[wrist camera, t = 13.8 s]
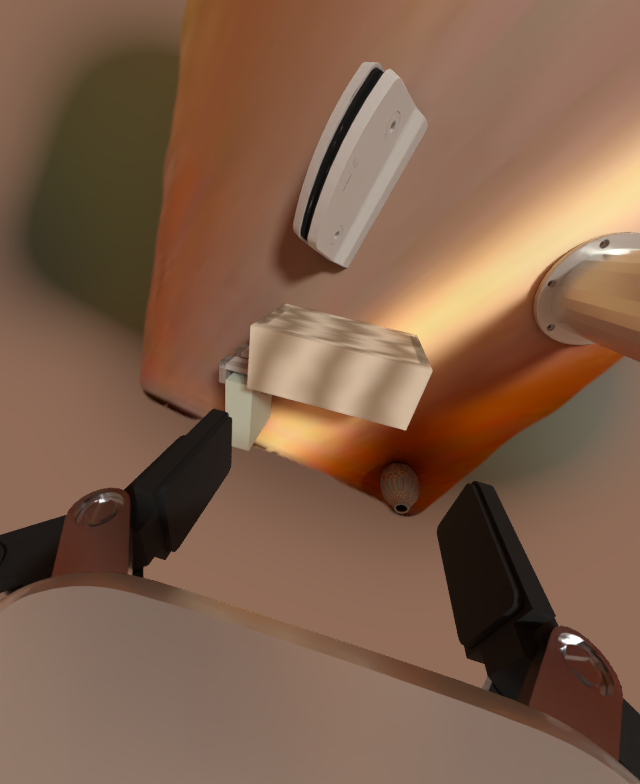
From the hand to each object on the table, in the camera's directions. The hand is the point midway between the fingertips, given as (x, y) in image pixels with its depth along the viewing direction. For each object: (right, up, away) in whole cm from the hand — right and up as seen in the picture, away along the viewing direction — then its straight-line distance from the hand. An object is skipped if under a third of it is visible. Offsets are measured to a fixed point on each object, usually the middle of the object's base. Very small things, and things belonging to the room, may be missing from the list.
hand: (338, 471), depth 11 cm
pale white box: (-11, +4, +38) cm, 40 cm away
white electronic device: (+4, +28, +22) cm, 36 cm away
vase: (+14, -12, +41) cm, 45 cm away
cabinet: (0, +10, +32) cm, 34 cm away
